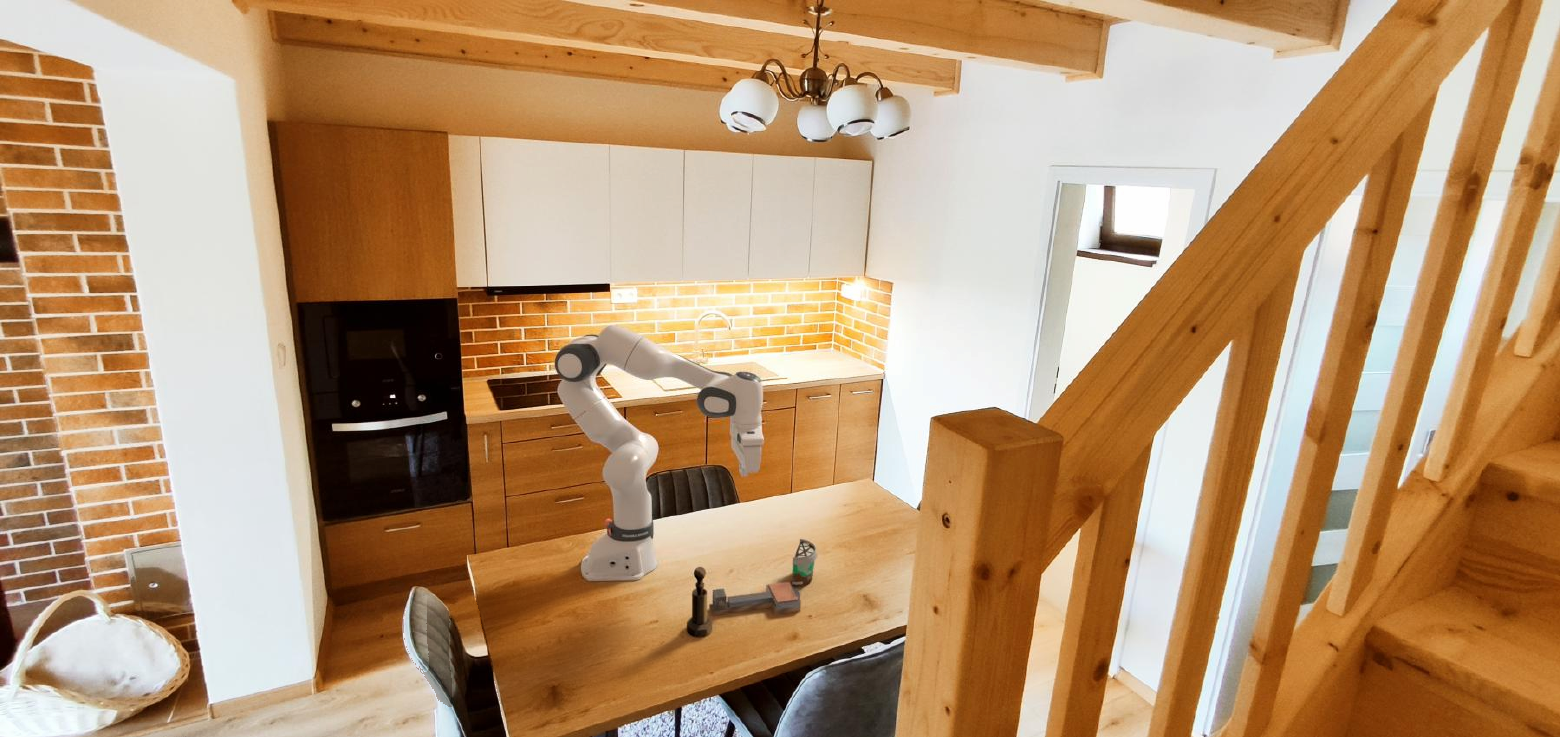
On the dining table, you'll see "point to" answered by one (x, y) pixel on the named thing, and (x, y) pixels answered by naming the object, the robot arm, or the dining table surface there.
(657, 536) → the dining table surface
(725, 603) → the walnut jaw
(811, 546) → the food container
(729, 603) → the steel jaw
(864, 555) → the dining table surface
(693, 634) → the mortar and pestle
